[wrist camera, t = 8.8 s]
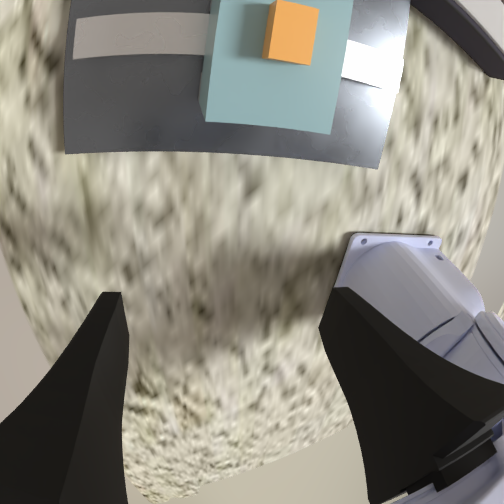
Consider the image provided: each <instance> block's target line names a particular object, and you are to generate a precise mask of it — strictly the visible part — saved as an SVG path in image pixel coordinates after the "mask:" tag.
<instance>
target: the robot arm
mask: <svg viewBox="0 0 504 504" xmlns="http://www.w3.org/2000/svg"><path fill="white" fill-rule="evenodd" d="M363 239H364V240H363ZM362 240H363V241H362ZM361 241H362V242H361ZM441 242H442V239H441V238H440V237H439V236H425V235H402V234H377V233H355V234H353V235H352V236H351V238H350V241H349V244H348V247H347V250H346V253H345V256H344V259H343V262H342V265H341V268H340V271H339V274H338V277H337V280H336V283H335V286H334V287H333V290H332V292H331V295H330V298H329V301H328V303H327V306H326V309H325V311H324V314H323V317H322V319H321V322H320V325H319V327H318V328H319V331H320V335H321V339H322V342H323V345H324V349H325V352H326V354H327V357H328V359H329V361H330V363H331V366H332V368H333V370H334V373H335V375H336V377H337V379H338V382H339V384H340V386H341V388H342V391H343V393H344V395H345V397H346V400H347V402H348V405H349V408H350V410H351V414H352V417H353V421H354V424H355V427H356V431H357V435H358V439H359V443H360V447H361V451H362V457H363V463H364V468H365V475H366V483H367V490H368V491H367V492H368V500H369V502H370V504H382V503H384V502H386V501H388V500H391V499H393V498H395V497H398V496H400V495H402V494H404V493H406V492H407V493H408V496H406V497H404V498H402V499H400V500H397V501H395V502H393V503H391V504H504V321H503V320H502V319H501V318H500V317H499V316H498V315H497V314H495V313H494V312H492V311H487V312H485V308H484V303H483V299H482V297H481V295H480V293H479V291H478V289H477V288H476V287H475V286H474V285H473V284H472V283H471V282H470V280H469V279H468V278H467V277H466V276H465V275H464V274H463V273H462V272H461V271H460V270H459V269H458V268H457V267H456V266H455V265H454V264H453V263H452V262H451V261H450V260H449V259H448V258H447V257H446V256H445V255H444V254H443V253H442V252H441V251H440V250H439V247H440V245H441ZM128 358H129V332H128V327H127V322H126V317H125V312H124V306H123V301H122V295H121V292H102V293H101V294H100V296H99V298H98V299H97V301H96V303H95V304H94V306H93V307H92V309H91V311H90V312H89V314H88V315H87V317H86V319H85V320H84V322H83V323H82V325H81V326H80V328H79V329H78V331H77V332H76V334H75V335H74V337H73V338H72V340H71V341H70V343H69V344H68V346H67V347H66V348H65V350H64V351H63V353H62V354H61V355H60V357H59V358H58V360H57V361H56V362H55V364H54V365H53V366H52V368H51V369H50V370H49V372H48V373H47V374H46V375H45V376H44V378H43V379H42V380H41V381H40V383H39V384H38V385H37V386H36V387H35V388H34V389H33V391H32V392H31V393H30V394H29V395H28V396H27V397H26V398H25V400H24V401H23V402H22V403H21V404H20V405H19V406H18V407H17V408H16V409H15V410H14V411H13V412H12V413H11V414H10V415H9V416H8V417H6V418H5V419H4V420H3V422H1V423H0V504H128V501H127V494H126V487H125V486H126V485H125V477H124V466H123V452H122V415H123V404H124V395H125V386H126V378H127V370H128Z"/></svg>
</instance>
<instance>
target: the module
mask: <svg viewBox="0 0 504 504" xmlns="http://www.w3.org/2000/svg"><path fill="white" fill-rule="evenodd" d="M353 1H354V0H211V3H210V9H209V11H210V17H209V24H208V31H207V39H206V46H205V54H204V62H203V70H202V72H201V77H200V86H199V96H198V101H199V104H200V107H201V110H202V113H203V116H204V119H205V122H223V123H237V124H249V125H260V126H270V127H279V128H287V129H295V130H302V131H309V132H316V133H323V134H329V135H330V133H331V128H332V123H333V118H334V113H335V108H336V103H337V97H338V92H339V87H340V81H341V76H342V70H343V64H344V59H345V53H346V47H347V41H348V34H349V28H350V22H351V15H352V8H353Z"/></svg>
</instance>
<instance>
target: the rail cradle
mask: <svg viewBox="0 0 504 504" xmlns="http://www.w3.org/2000/svg"><path fill="white" fill-rule="evenodd" d="M410 2H411V0H354V1H353V8H352V15H351V22H350V28H349V34H348V41H347V47H346V53H345V59H344V64H343V70H342V76H341V81H340V87H339V92H338V97H337V103H336V108H335V113H334V118H333V123H332V128H331V133H330V135H329V134H323V133H316V132H309V131H302V130H295V129H287V128H279V127H270V126H260V125H249V124H237V123H223V122H205V119H204V116H203V113H202V110H201V107H200V104H199V101H198V96H199V86H200V77H201V72H202V70H203V62H204V54H205V46H206V39H207V31H208V24H209V17H210V11H209V9H210V3H211V0H72V1H71V7H70V14H69V22H68V30H67V40H66V51H65V66H64V93H63V116H64V144H65V154H79V153H98V152H129V151H180V152H213V153H233V154H249V155H262V156H274V157H285V158H296V159H305V160H314V161H322V162H330V163H338V164H345V165H353V166H359V167H366V168H372V169H378V166H379V163H380V159H381V155H382V151H383V147H384V143H385V139H386V135H387V131H388V127H389V122H390V118H391V114H392V109H393V104H394V100H395V95H396V93H398V88H399V83H400V78H401V73H402V67H403V62H404V59H402V58H403V52H404V46H405V39H406V33H407V26H408V18H409V10H410Z"/></svg>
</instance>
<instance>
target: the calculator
mask: <svg viewBox="0 0 504 504" xmlns="http://www.w3.org/2000/svg"><path fill="white" fill-rule="evenodd" d="M410 4H411V5H412V6H414V7H415V8H416V9H418V10H419V11H420V12H421V13H423V14H424V15H425V16H426V17H428V18H429V19H430V20H431V21H433V22H434V23H435V24H436V25H437V26H438V27H440V28H441V29H442V30H443V31H444V32H445V33H446V34H447V35H449V36H450V37H451V38H452V39H453V40H454V41H455V42H456V43H457V44H458V45H459V46H460V47H461V48H462V49H463V50H464V51H465V52H466V53H467V54H468V55H469V56H470V57H471V58H472V59H473V60H474V61H475V62H476V63H477V64H478V65H479V66H480V67H481V68H482V69H483V70H484V71H485V72H486V74H487V75H488V76H489V77H492V78H496V79H501V80H504V0H411V2H410Z"/></svg>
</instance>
